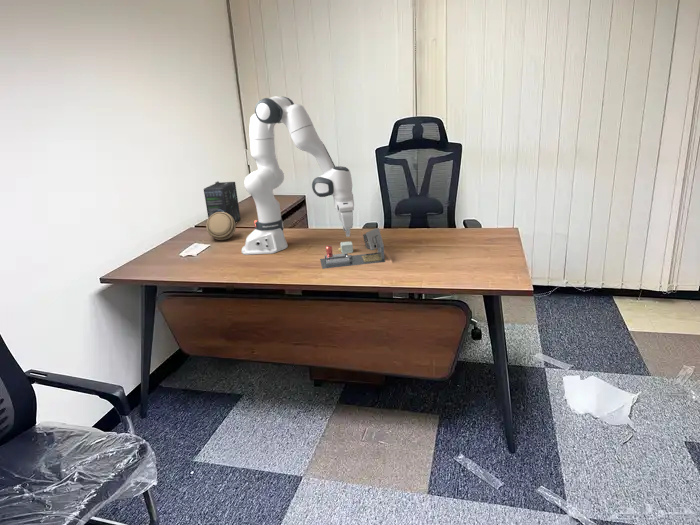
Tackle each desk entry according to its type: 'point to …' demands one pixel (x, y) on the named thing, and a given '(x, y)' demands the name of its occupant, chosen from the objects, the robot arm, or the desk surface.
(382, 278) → the desk surface
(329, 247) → the ram
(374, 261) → the press
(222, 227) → the mechanical component
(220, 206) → the headset box
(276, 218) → the robot arm
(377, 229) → the electrical switch
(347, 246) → the block
